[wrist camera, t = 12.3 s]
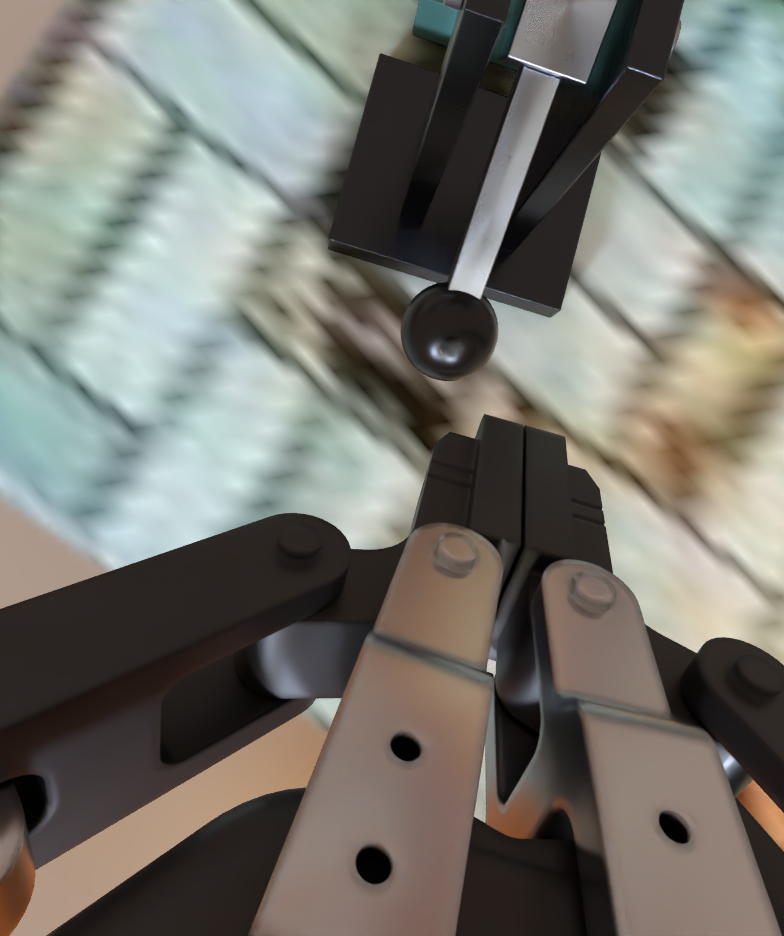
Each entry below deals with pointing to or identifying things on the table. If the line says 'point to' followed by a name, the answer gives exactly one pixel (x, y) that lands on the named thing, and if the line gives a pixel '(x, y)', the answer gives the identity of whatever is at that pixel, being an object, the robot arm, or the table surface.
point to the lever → (503, 182)
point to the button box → (449, 25)
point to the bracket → (468, 147)
